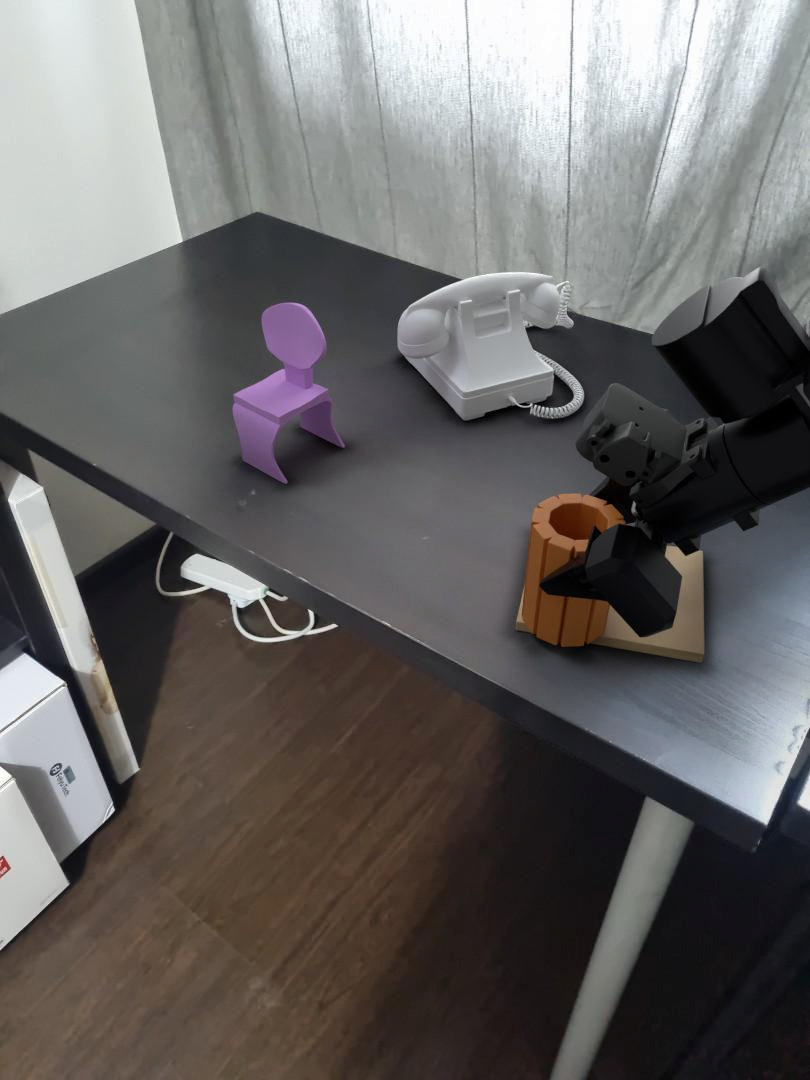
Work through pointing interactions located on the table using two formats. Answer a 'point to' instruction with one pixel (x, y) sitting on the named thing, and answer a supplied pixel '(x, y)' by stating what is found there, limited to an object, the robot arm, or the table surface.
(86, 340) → the table surface
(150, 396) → the table surface
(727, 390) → the robot arm
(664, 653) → the ring board
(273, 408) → the toy chair
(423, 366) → the telephone
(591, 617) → the pen holder
